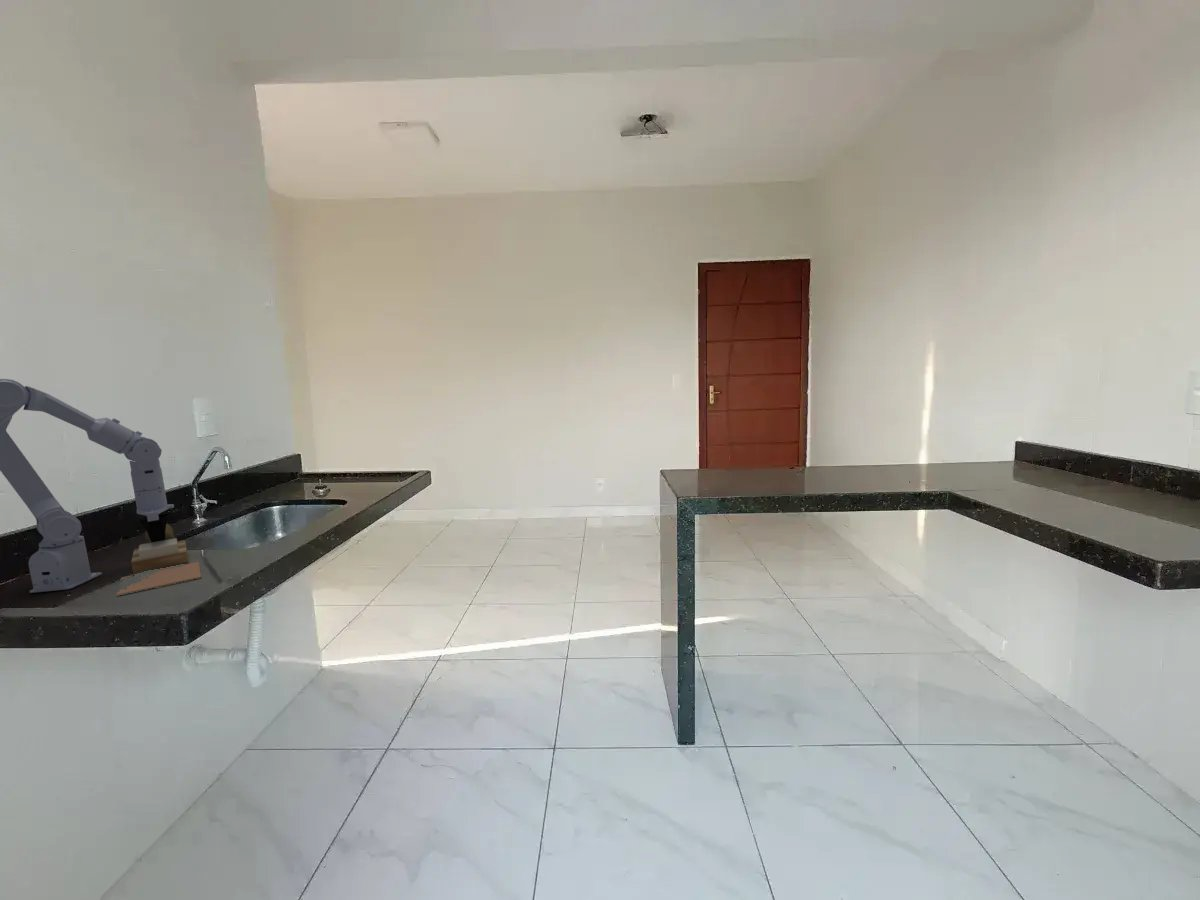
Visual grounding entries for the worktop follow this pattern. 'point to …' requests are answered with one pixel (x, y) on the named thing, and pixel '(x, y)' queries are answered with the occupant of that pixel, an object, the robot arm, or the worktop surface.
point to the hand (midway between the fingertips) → (159, 545)
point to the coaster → (158, 548)
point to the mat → (165, 578)
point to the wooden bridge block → (160, 560)
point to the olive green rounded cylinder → (167, 533)
